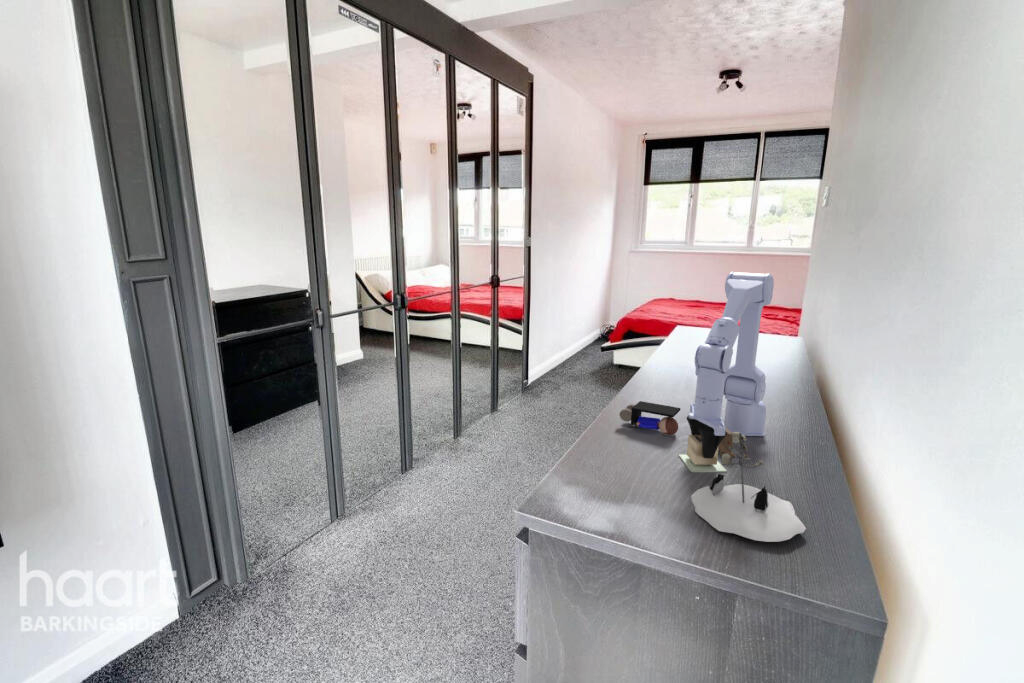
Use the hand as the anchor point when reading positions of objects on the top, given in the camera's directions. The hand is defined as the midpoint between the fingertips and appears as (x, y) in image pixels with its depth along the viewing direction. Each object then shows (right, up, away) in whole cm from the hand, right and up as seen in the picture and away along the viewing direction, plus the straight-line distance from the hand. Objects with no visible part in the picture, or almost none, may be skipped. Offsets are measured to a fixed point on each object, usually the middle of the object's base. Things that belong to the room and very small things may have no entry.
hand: (702, 452), depth 108 cm
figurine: (0, -8, -19) cm, 21 cm away
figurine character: (-7, +1, +20) cm, 21 cm away
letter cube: (0, -2, 0) cm, 2 cm away
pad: (0, -3, +1) cm, 3 cm away
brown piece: (+8, -1, +10) cm, 13 cm away
